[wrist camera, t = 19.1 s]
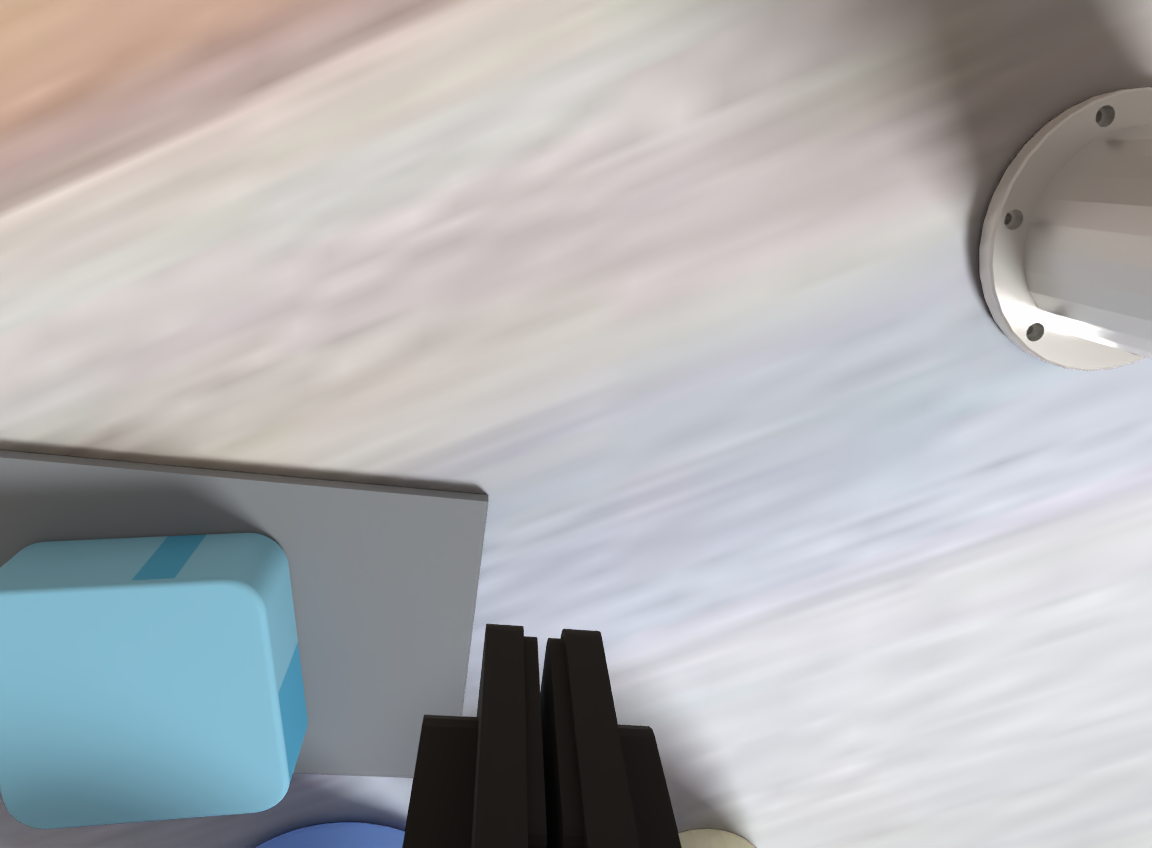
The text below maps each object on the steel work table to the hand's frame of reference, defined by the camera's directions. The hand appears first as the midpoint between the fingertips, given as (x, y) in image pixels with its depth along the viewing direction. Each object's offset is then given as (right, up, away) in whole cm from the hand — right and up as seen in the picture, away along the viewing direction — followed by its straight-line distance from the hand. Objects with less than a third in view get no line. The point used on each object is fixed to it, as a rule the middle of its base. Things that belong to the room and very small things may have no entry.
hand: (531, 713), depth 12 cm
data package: (-12, -7, +25) cm, 29 cm away
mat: (-15, -6, +27) cm, 32 cm away
